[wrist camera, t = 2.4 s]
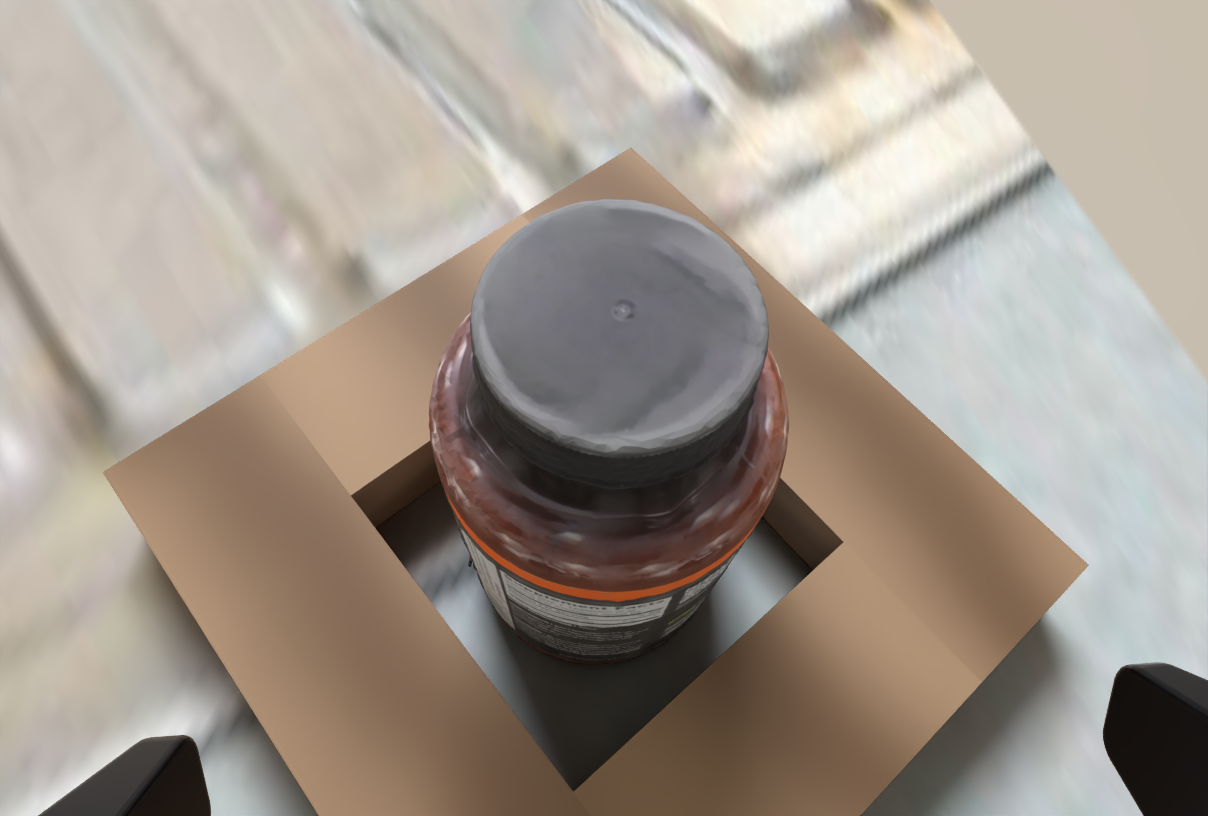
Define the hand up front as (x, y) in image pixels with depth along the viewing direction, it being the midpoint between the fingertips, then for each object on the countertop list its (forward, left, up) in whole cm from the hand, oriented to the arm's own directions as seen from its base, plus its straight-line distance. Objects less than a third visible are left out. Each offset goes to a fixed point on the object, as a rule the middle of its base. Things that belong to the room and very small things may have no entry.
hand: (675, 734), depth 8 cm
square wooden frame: (+3, +4, -12) cm, 13 cm away
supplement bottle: (+3, +4, -12) cm, 13 cm away
